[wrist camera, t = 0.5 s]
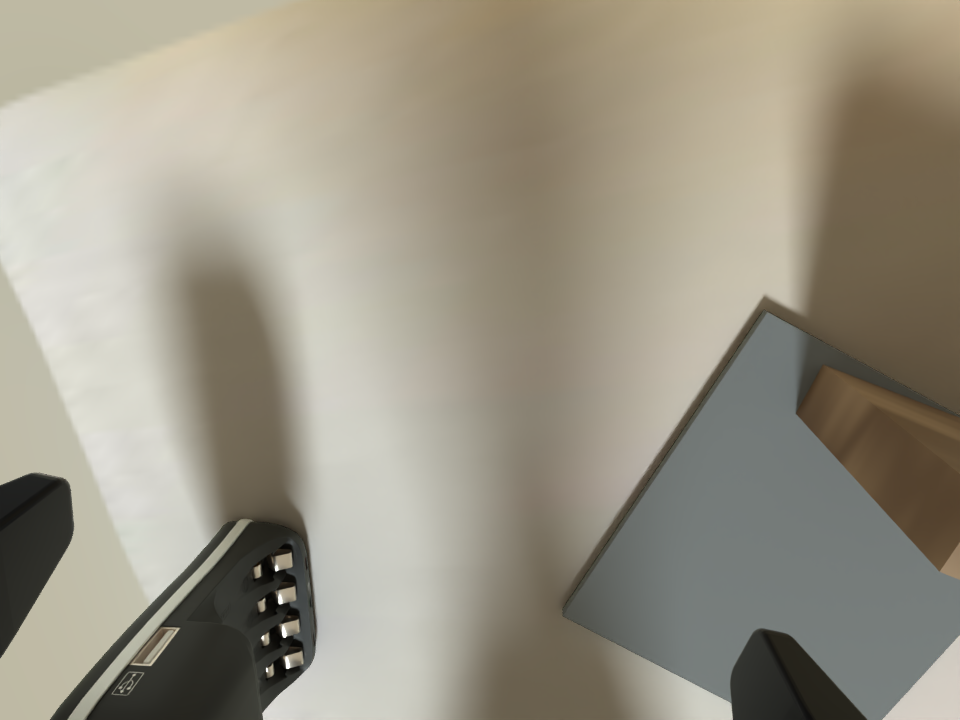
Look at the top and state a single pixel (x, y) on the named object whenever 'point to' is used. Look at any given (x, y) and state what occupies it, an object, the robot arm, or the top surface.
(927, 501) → the board
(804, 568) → the mat
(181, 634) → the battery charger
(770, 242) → the top surface
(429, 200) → the top surface
